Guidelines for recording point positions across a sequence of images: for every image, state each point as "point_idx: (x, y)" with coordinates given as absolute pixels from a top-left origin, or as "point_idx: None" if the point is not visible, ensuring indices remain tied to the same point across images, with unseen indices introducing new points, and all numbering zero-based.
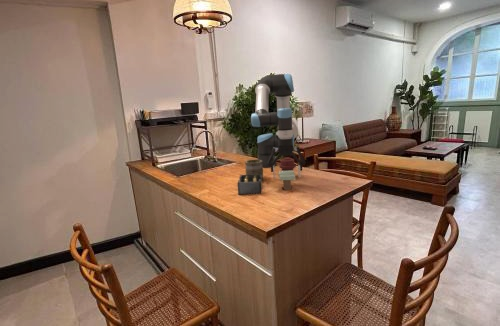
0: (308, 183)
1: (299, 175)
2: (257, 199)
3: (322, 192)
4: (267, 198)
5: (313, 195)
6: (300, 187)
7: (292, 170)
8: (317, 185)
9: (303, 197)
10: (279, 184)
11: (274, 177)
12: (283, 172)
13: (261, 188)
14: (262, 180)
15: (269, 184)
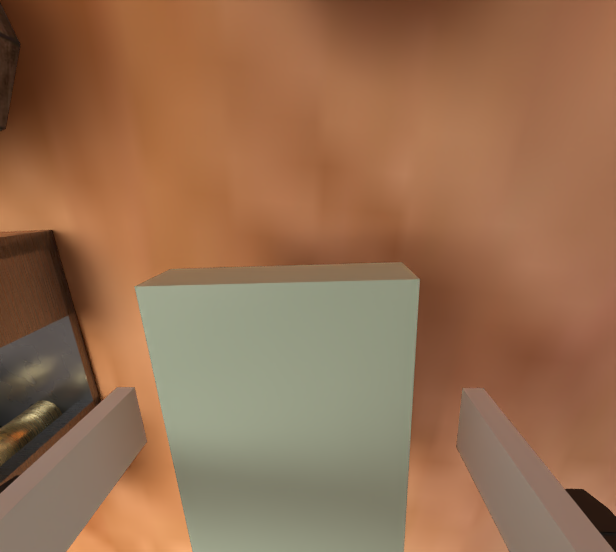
0: (543, 231)
1: (474, 469)
2: (117, 531)
3: (574, 479)
4: (174, 526)
5: (484, 520)
6: (427, 348)
7: (407, 289)
8: (612, 309)
9: (406, 541)
10: (229, 235)
11: (134, 450)
12: (232, 399)
13: (82, 353)
14: (8, 67)
15: (127, 224)
